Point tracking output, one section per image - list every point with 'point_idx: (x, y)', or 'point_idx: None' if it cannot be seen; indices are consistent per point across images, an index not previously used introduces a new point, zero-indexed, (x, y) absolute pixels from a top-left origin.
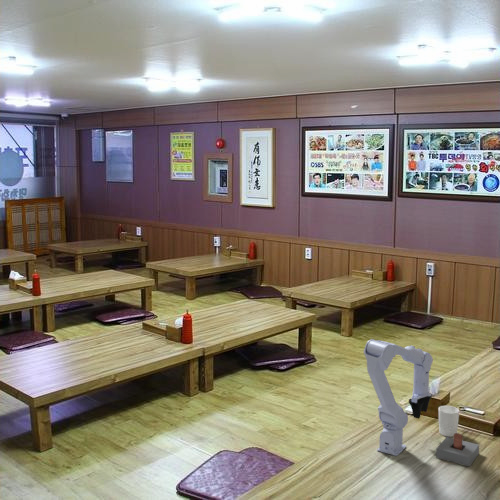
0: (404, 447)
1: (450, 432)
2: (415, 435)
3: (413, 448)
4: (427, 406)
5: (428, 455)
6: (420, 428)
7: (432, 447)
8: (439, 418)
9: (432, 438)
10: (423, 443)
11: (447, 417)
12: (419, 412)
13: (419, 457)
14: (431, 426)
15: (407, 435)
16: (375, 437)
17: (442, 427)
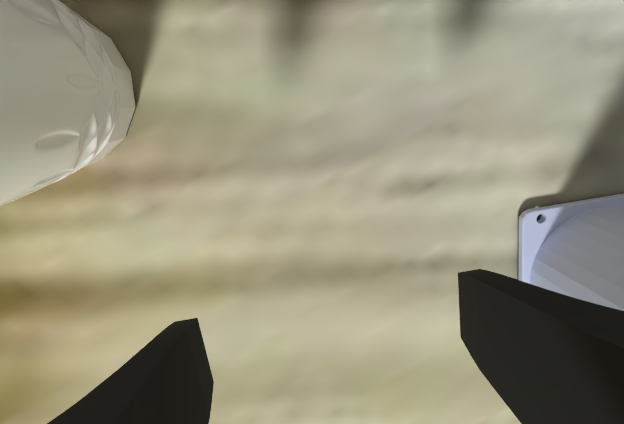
0: (559, 207)
1: (90, 27)
2: (299, 261)
3: (508, 162)
4: (150, 360)
5: (555, 15)
6: (159, 297)
7: (406, 59)
8: (57, 162)
9: (254, 141)
10: (385, 149)
11: (18, 19)
12: (573, 303)
13: (620, 54)
14: (53, 258)
15: (339, 300)
16: (498, 414)
17: (111, 106)
